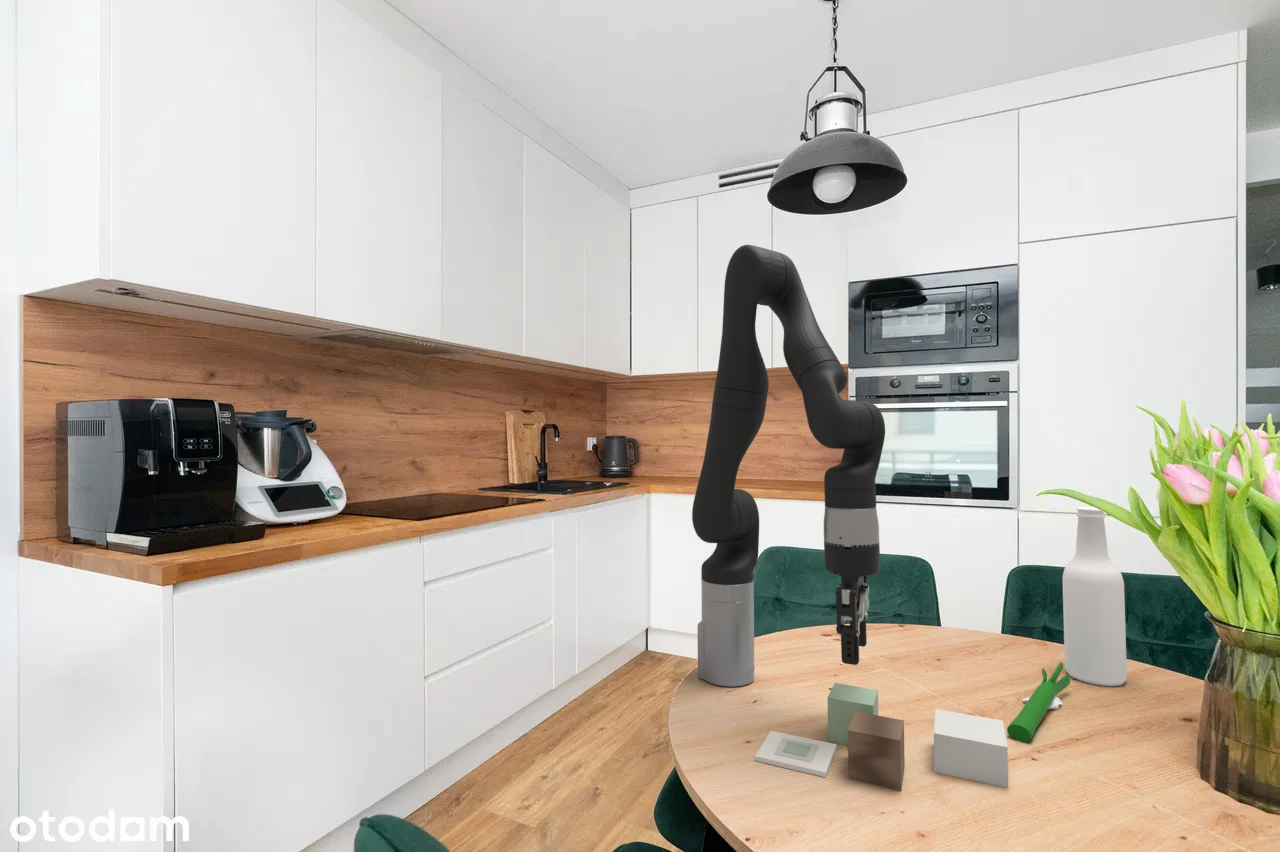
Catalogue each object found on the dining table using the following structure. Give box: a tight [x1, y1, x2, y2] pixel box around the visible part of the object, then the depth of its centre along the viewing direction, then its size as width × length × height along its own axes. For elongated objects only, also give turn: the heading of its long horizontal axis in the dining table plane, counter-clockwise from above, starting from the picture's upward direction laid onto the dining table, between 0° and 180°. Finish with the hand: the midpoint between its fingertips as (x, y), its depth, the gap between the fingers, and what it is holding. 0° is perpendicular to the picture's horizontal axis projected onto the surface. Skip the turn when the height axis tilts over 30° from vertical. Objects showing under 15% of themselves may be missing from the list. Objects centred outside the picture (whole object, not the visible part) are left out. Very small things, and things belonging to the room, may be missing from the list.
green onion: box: [1006, 661, 1071, 743], centre depth 96 cm, size 5×3×30 cm
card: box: [754, 730, 838, 778], centre depth 81 cm, size 9×8×1 cm
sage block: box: [827, 682, 879, 746], centre depth 86 cm, size 6×6×6 cm
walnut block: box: [847, 711, 906, 792], centre depth 77 cm, size 6×6×6 cm
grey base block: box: [933, 708, 1009, 789], centre depth 79 cm, size 8×8×5 cm
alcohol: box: [1062, 506, 1128, 687], centre depth 108 cm, size 9×9×30 cm
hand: (854, 654), depth 87 cm, fingers open, 8 cm apart
